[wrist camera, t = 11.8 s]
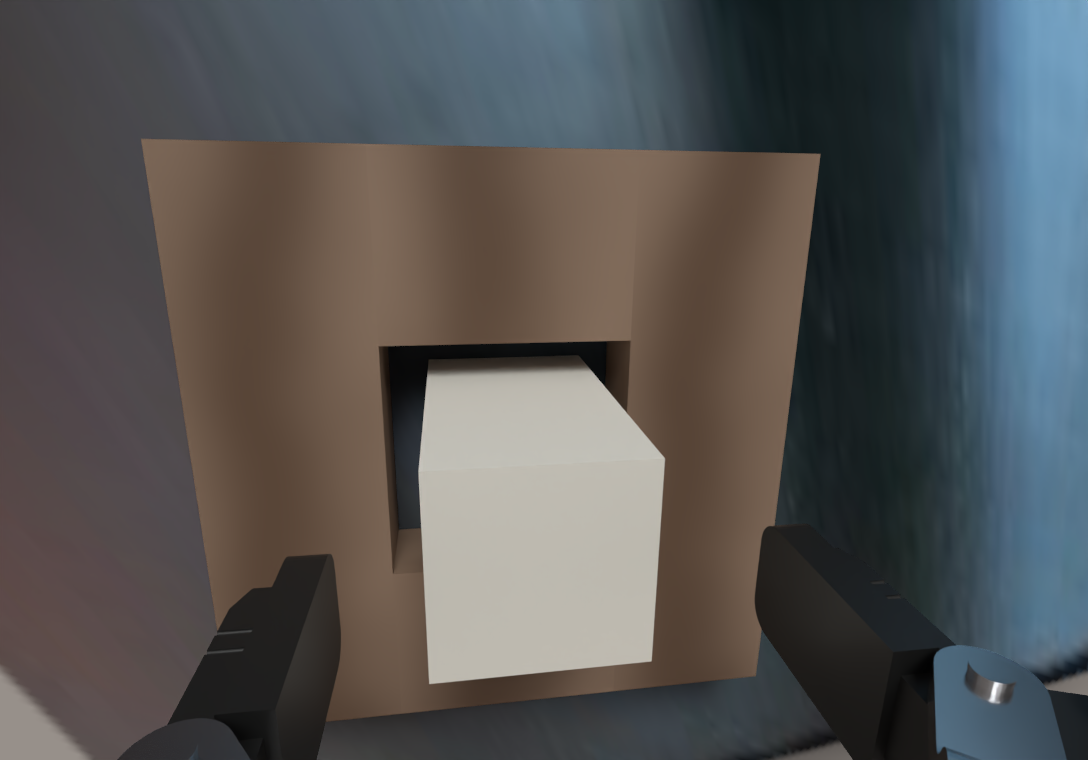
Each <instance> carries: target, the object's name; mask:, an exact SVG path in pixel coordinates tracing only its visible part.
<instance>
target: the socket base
mask: <svg viewBox="0 0 1088 760" xmlns="http://www.w3.org/2000/svg"><path fill="white" fill-rule="evenodd" d="M141 141H142V148H143V154H144V161H145V167H146V174H147V180H148V187H149V193H150V200H151V206H152V212H153V219H154V225H155V232H156V238H157V245H158V251H159V258H160V264H161V270H162V277H163V283H164V290H165V296H166V303H167V309H168V316H169V322H170V328H171V335H172V341H173V348H174V354H175V361H176V367H177V374H178V380H179V386H180V393H181V399H182V406H183V412H184V419H185V425H186V432H187V438H188V444H189V451H190V457H191V464H192V470H193V477H194V483H195V490H196V496H197V502H198V509H199V515H200V522H201V528H202V535H203V541H204V548H205V554H206V560H207V567H208V573H209V580H210V586H211V593H212V599H213V606H214V612H215V618H216V625H217V631H218V629H219V627H220V625H221V623H222V621H223V620H224V618H225V616H226V614H227V612H228V610H229V608H231V607H232V606H233V605H234V604H235V603H236V602H238V601H239V600H240V599H241V598H242V597H243V596H244V595H246V594H247V593H248V592H249V591H250V590H251V589H252V588H265V587H272V586H273V584H274V581H275V579H276V577H277V575H278V573H279V570H280V568H281V566H282V564H283V562H284V560H285V558H286V557H288V556H303V555H318V554H331V555H332V557H333V560H334V566H335V575H336V585H337V596H338V606H339V616H340V626H341V652H340V661H339V667H338V672H337V676H336V680H335V684H334V688H333V692H332V697H331V701H330V705H329V709H328V713H327V718H326V722H329V721H338V720H347V719H357V718H366V717H376V716H385V715H394V714H404V713H413V712H423V711H432V710H441V709H451V708H460V707H470V706H479V705H488V704H498V703H507V702H517V701H526V700H536V699H545V698H554V697H564V696H573V695H583V694H592V693H601V692H611V691H620V690H630V689H639V688H648V687H658V686H667V685H677V684H686V683H695V682H705V681H714V680H724V679H733V678H743V677H752V676H756V670H757V662H758V654H759V645H760V637H761V626H760V624H759V622H758V619H757V615H756V610H755V588H756V580H757V571H758V563H759V555H760V546H761V538H762V534H763V531H764V530H765V528H766V527H768V526H774V524H775V516H776V508H777V500H778V492H779V484H780V476H781V468H782V460H783V452H784V444H785V435H786V427H787V419H788V411H789V403H790V395H791V387H792V379H793V371H794V363H795V355H796V347H797V339H798V330H799V322H800V314H801V306H802V298H803V290H804V282H805V274H806V266H807V258H808V250H809V242H810V233H811V225H812V217H813V209H814V201H815V193H816V185H817V177H818V169H819V161H820V154H797V153H752V152H707V151H662V150H617V149H572V148H527V147H482V146H436V145H391V144H346V143H301V142H256V141H211V140H166V139H141ZM588 341H607V351H606V377H605V388H606V389H607V390H608V391H609V392H610V394H611V395H612V396H613V397H614V398H615V399H616V401H617V402H618V403H619V404H620V405H621V407H622V408H623V409H624V410H625V411H626V413H627V414H628V415H629V416H630V417H631V419H632V420H633V421H634V422H635V423H636V425H637V426H638V427H639V428H640V429H641V430H642V432H643V433H644V434H645V435H646V436H647V438H648V439H649V440H650V441H651V442H652V444H653V445H654V446H655V447H656V448H657V450H658V451H659V452H660V453H661V454H662V456H663V457H664V458H665V466H664V481H663V496H662V512H661V527H660V542H659V557H658V572H657V587H656V602H655V618H654V633H653V648H652V661H651V662H641V663H631V664H621V665H611V666H602V667H592V668H582V669H572V670H563V671H553V672H543V673H533V674H523V675H514V676H504V677H494V678H484V679H474V680H465V681H455V682H445V683H435V684H429V670H428V650H427V631H426V611H425V591H424V572H423V552H422V532H421V528H415V529H400V530H399V523H398V506H397V489H396V472H395V455H394V438H393V421H392V404H391V388H390V371H389V354H388V346H416V345H459V344H502V343H545V342H588Z"/></svg>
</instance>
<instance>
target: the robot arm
mask: <svg viewBox="0 0 1088 760" xmlns="http://www.w3.org/2000/svg"><path fill="white" fill-rule="evenodd" d="M755 610H756V615H757V619H758V622H759V624H760V626H761V629H762V630H763V632H764V633H765V635H766V636H767V638H768V639H769V641H770V642H771V643H772V645H773V646H774V648H775V649H776V651H777V652H778V653H779V655H780V656H781V658H782V659H783V661H784V662H785V663H786V665H787V666H788V668H789V669H790V671H791V672H792V673H793V675H794V676H795V678H796V679H797V680H798V682H799V683H800V685H801V686H802V688H803V689H804V690H805V692H806V693H807V695H808V696H809V698H810V699H811V700H812V702H813V703H814V705H815V706H816V708H817V709H818V710H819V712H820V713H821V715H822V716H823V718H824V719H825V720H826V722H827V723H828V725H829V726H830V728H831V729H832V730H833V732H834V733H835V735H836V736H837V737H838V739H839V740H840V742H841V743H842V745H843V746H844V747H845V749H846V750H847V752H848V753H849V755H850V756H851V757H852V759H853V760H1088V696H1087V695H1080V694H1073V693H1066V692H1059V691H1052V690H1047V689H1046V688H1045V686H1044V685H1043V684H1042V682H1041V681H1040V680H1039V679H1038V678H1037V677H1036V676H1034V675H1033V674H1032V673H1031V672H1030V671H1028V670H1027V669H1025V668H1024V667H1023V666H1021V665H1019V664H1018V663H1016V662H1014V661H1012V660H1010V659H1008V658H1006V657H1004V656H1002V655H999V654H997V653H994V652H991V651H988V650H985V649H981V648H977V647H971V646H957V645H955V644H954V643H953V642H952V641H951V640H950V639H949V638H948V637H947V636H945V635H944V634H943V633H942V632H941V631H940V630H939V629H938V628H937V627H936V626H934V625H933V624H932V623H931V622H930V621H929V620H928V619H927V618H926V617H925V616H923V615H922V614H921V613H920V612H919V611H918V610H917V609H916V608H915V607H913V606H912V605H911V604H910V603H909V602H908V601H907V600H906V599H905V598H901V597H900V594H899V593H898V592H897V591H896V590H895V589H894V588H892V587H891V586H890V585H889V584H888V583H886V584H885V583H884V579H883V578H881V577H880V576H879V575H878V574H877V573H876V572H875V571H874V570H873V569H872V568H870V567H869V566H868V565H867V564H866V563H865V562H863V561H861V560H859V559H858V558H856V557H854V556H852V555H850V554H848V553H846V552H845V551H843V550H841V549H839V548H834V547H833V546H831V545H830V544H829V543H828V542H827V541H826V540H825V539H824V538H823V537H822V536H821V535H820V534H819V533H818V532H817V531H816V530H814V529H813V528H812V527H811V526H810V525H808V524H793V525H778V526H768V527H766V528H765V530H764V531H763V534H762V538H761V546H760V555H759V563H758V571H757V580H756V588H755ZM340 652H341V626H340V616H339V606H338V596H337V585H336V575H335V566H334V560H333V557H332V555H331V554H318V555H303V556H288V557H286V558H285V560H284V562H283V564H282V566H281V568H280V570H279V573H278V575H277V577H276V579H275V581H274V584H273V586H272V587H265V588H252V589H251V590H250V591H249V592H248V593H247V594H246V595H244V596H243V597H242V598H241V599H240V600H239V601H238V602H236V603H235V604H234V605H233V606H232V607H231V608H229V610H228V612H227V614H226V616H225V618H224V620H223V621H222V623H221V625H220V627H219V629H218V631H217V636H214V638H213V640H212V642H211V644H210V646H209V648H208V650H207V655H204V657H203V659H202V661H201V663H200V665H199V666H198V668H197V670H196V672H195V674H194V676H193V678H192V680H191V681H190V683H189V685H188V687H187V689H186V691H185V693H184V695H183V696H182V698H181V700H180V702H179V704H178V706H177V708H176V710H175V711H174V713H173V715H172V717H171V719H170V721H169V723H168V725H166V726H164V727H162V728H160V729H157V730H155V731H153V732H152V733H150V734H148V735H146V736H145V737H143V738H142V739H140V740H139V741H137V742H136V743H134V744H133V745H132V746H131V747H130V748H129V749H127V750H126V751H125V752H124V753H123V754H122V755H121V756H120V757H119V758H118V759H117V760H316V759H317V755H318V751H319V747H320V743H321V738H322V734H323V730H324V726H325V722H326V718H327V713H328V709H329V705H330V701H331V697H332V692H333V688H334V684H335V680H336V676H337V672H338V667H339V661H340Z"/></svg>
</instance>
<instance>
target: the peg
mask: <svg viewBox="0 0 1088 760" xmlns="http://www.w3.org/2000/svg"><path fill="white" fill-rule="evenodd" d="M664 466H665V458H664V457H663V456H662V454H661V453H660V452H659V451H658V450H657V448H656V447H655V446H654V445H653V444H652V442H651V441H650V440H649V439H648V438H647V436H646V435H645V434H644V433H643V432H642V430H641V429H640V428H639V427H638V426H637V425H636V423H635V422H634V421H633V420H632V419H631V417H630V416H629V415H628V414H627V413H626V411H625V410H624V409H623V408H622V407H621V405H620V404H619V403H618V402H617V401H616V399H615V398H614V397H613V396H612V395H611V394H610V392H609V391H608V390H607V389H606V388H605V386H604V385H603V384H602V383H601V382H600V380H599V379H598V378H597V377H596V376H595V374H594V373H593V372H592V371H591V370H590V368H589V367H588V366H587V365H586V364H585V363H584V361H583V360H582V359H581V358H580V357H579V355H571V356H536V357H502V358H467V359H432V360H429V361H428V372H427V383H426V394H425V405H424V416H423V427H422V438H421V449H420V460H419V471H418V473H419V493H420V513H421V532H422V552H423V572H424V591H425V611H426V631H427V650H428V670H429V684H435V683H445V682H455V681H465V680H474V679H484V678H494V677H504V676H514V675H523V674H533V673H543V672H553V671H563V670H572V669H582V668H592V667H602V666H611V665H621V664H631V663H641V662H651V661H652V648H653V633H654V618H655V602H656V587H657V572H658V557H659V542H660V527H661V512H662V496H663V481H664Z"/></svg>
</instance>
